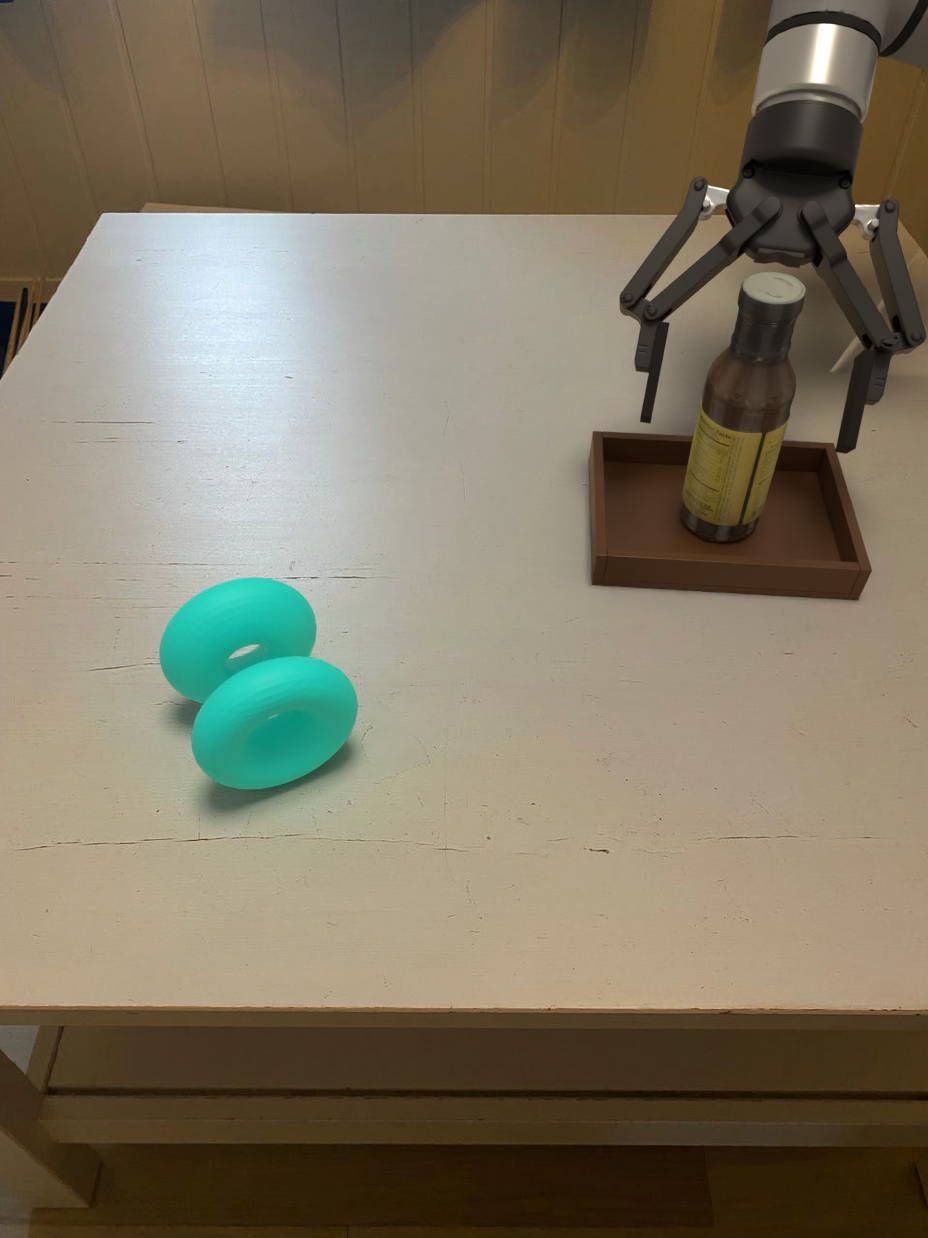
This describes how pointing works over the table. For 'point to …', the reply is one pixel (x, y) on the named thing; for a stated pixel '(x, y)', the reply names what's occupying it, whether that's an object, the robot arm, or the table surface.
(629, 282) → the robot arm
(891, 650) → the table surface
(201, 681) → the donuts
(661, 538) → the serving tray
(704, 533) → the sauce bottle
